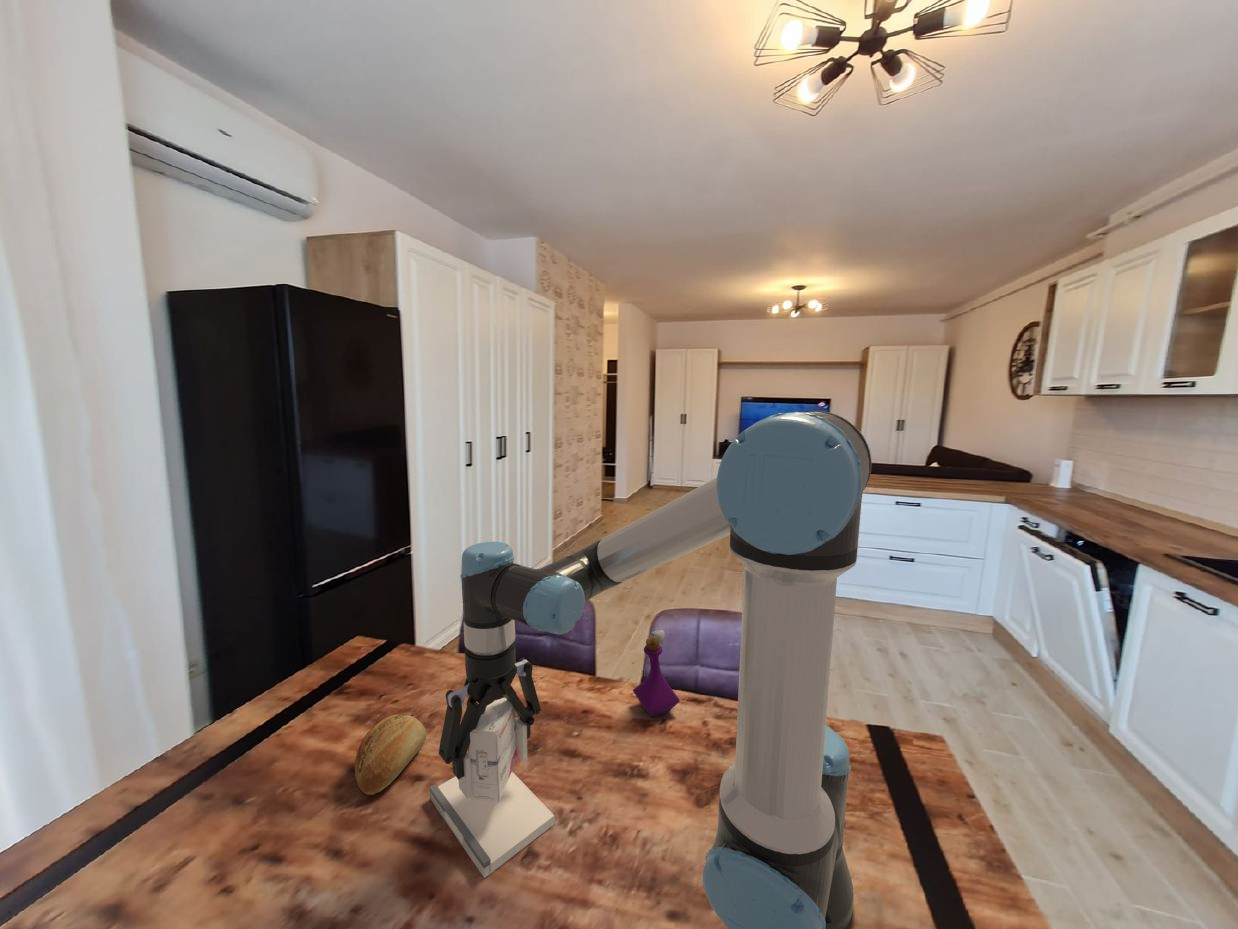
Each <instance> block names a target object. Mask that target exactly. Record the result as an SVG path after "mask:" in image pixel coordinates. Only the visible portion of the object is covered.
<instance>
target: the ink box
mask: <svg viewBox="0 0 1238 929" xmlns="http://www.w3.org/2000/svg"><path fill="white" fill-rule="evenodd" d="M515 718H516V712H515V709H514V707H513V705H512V704H511V703H510V702H509V701H508V700H507V699H506V698H505V697H504V698H502V699H499V700H495V701H494V702H493V703H491V704H490V705H488V706H487V707H486V709H485V712H484V714H482V715H481V717H480V719H479V722H478V724H477V727H476V729H474V730H472V732H470V745H469V748H468V750H467V754H468V755H469V756H470V763H471V787H472V796H471V797H470V799H474V800H481V801H490V802H499V801H500V799H501V797H502V794H503V792H504V789H505V787H506V785H507V782H508V780H509V777H510V775H511V772H513V769H514V767H515V764H516V762H517V756H516V730H515Z"/></svg>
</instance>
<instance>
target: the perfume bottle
mask: <svg viewBox="0 0 1238 929" xmlns="http://www.w3.org/2000/svg"><path fill="white" fill-rule="evenodd" d="M650 635H651V637H647V639H646V640H645V646H644V647H643V654H645V655H647V657H648V658H649V663H650V664H649V665H650V666H649V667H650V669H649V673H648V675H647V677H646V678H645V680H643V681H642V682H641V683H640V684H638V686H635V687H634V688H633V690H632V692H633V693H634V695H635V696H636V698H637V700H638V701H639V703H640V705H641V706H642V707H643V709H644V710H645V711H646V712H647V713H648V715H649V716H650V718H656V717H658V716H662V715H665V714H667V713H670V712H671V711H672V710H673V708H674V707H676V706H677V704H679V703H680V701H681V700H680V698H679V697H678V695H677V694H676V693H675V691H674V690H673V688H671V686H670V684H669V683H668V682H667V680H666V679H665V678H664V674H663V672H662V670H661V666H660V661H659V660H660V659H659V656H660V655H662V653H663V647H662V646H661V645H663V644H664V642H665V638H666V636H665V635H666V633H665V630H663V629H662V630H661V629H660V630H659V629H658V630H654V631H652V632H650Z"/></svg>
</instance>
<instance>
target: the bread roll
mask: <svg viewBox="0 0 1238 929" xmlns="http://www.w3.org/2000/svg"><path fill="white" fill-rule="evenodd" d="M426 739H427V730H426V728H425V725H424V724H423V723H422V722H421V721H420V720H418V719H417V718H416V717H414V716H411V715H409V714H408V715H407V714H406V715H404V714H401V713H400V714H392V715H389V716H387V717H384V719H381V720H380V721H379V722H378V723H376V724H375V725H374V726H373V727H372V728H371V729H370V730H369V731H368V732H367V733H366V734H365V736H364V737H363V739H362V740H361V742H360V744H359V747H358V749H357V751H356V754H355V762H354V776H355V780H356V783H357V786H358V788H359V789H360V791H361V792H362V793H363V794H366V795H369V796H373V795H375V794H377V793H380V792H382V791H383V790H384V789H386V788H387V787H388V786H389V785H391V784H392V783H393V781H394V780H395V779H396V778H397V777H398V776H399V775H400V773H402V771H404V769H405V768H406V767H407V765H408V764H409V763H410V762H411V760H413V758H414V757H415V756H416V755H417V753H419V751H420V750H421V749H422V747H423V746H424V744H425V742H426Z"/></svg>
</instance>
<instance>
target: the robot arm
mask: <svg viewBox="0 0 1238 929" xmlns="http://www.w3.org/2000/svg"><path fill="white" fill-rule="evenodd" d="M870 450H871V449H870V447H869V444H868V442H867V439H866V438H865V436H864V435H863V433H861V431H860V430H859V429H858V428H857V427H856V426H855V425H854V424H852V423H851V422H850V421H849V420H848V419H846V418H844V417H843V416H840V415H838V414H835V413H832V412H828V411H822V410H807V411H800V412H798V411H793V412H786V413H785V412H784V413H782V412H779V413H776V414H773V415H769V416H767V417H764V418H763V419H760V420H758V421H756V422H754V423H753V424H752V425H750V426H749V427H748V428H746V429H745V430H743V431H741V432H740V433H739V434H738V435H737V436H736V437H735V439H734V440H732V442H731V443H730V444H729V446H728V447H727V449H726V450H725V452H724V453H723V455H722V458H721V461H720V463H719V466H718V470H717V476H716V477H714V478H713V479H711V480H709V481H707V482H706V483H704V484H702V485H700V486H698V487H696V488H694V489H692V490H690V491H689V492H687V493H685V494H683V495H682V496H680V497H678V498H675V499H674V500H671V502H668V503H667V504H664V505H662V506H661V507H659V508H656V509H655V510H653V511H651V512H649V513H647V514H646V515H643V516H642V517H641V518H638V519H636V520H635V521H632V522H631V523H629V524H627V525H625V526H623V527H621V528H619V529H618V530H616V531H614V532H611V533H610V534H609V535H606V536H604V537H603V538H602V539H599V540H597V541H595V542H593V543H591V544H589V545H588V546H586V547H584V548H582V549H580V550H577V551H575V552H574V553H571V554H570V555H567V556H565V557H562V558H560V559H557V560H556V561H554V562H551V563H549V564H547V565H544V566H543V567H540V568H532V567H528V566H525V565H521V564H519V563H514V561H515V557H514V551H513V548H512V547H511V546H510V545H509V544H508V543H505V542H502V541H500V542H499V541H485V542H479V543H475V544H472V545H470V546H469V547H466V548H465V549H464V550H463V551H462V554H461V569H460V572H461V573H460V582H461V593H462V594H461V596H462V599H461V600H462V614H463V616H462V617H463V637H464V638H463V640H464V646H465V648H464V665H465V668H464V669H465V676H466V679H465V682H464V684H463V686H462V687H460V688H458V689H457V690H455V691H454V690H452V689H449V690H447V691H446V693H445V701H446V706H447V707H446V711H445V717H444V722H443V725H442V726H443V727H442V731H441V738H440V742H439V743H440V744H439V747H438V755H439V757H441V759H442V761H443V762H444V764H446V765H449V764H451V763H452V764H451V765H452V766H451V768H452V773H453V776H454V777H455V776H456V777H457V779H458V780H459V789H460V790H461V791H462V793H463V794H464V795H465V796H466V798H469V797H471V796H472V787H471V763H470V756H469V755H468V748H469V745H470V732H472V730H474V729H476V727H477V724H478V722H479V719H480V717H481V715H482V714H484V712H485V709H486V707H487V706H488V705H490V704H491V703H493V702H494V701H495V700H499V699H502V698H506V699H507V700H508V701H509V702H510V703H511V704H512V705H513V707H514V709H515V714H516V715H517V716H518V717H515V730H516V758H518V759H519V761H520V762H522V763H523V764H525V763H526V762H528V739H530V737H531V734H532V733H531V726H532V725H534V723H535V718H534V717H533V716H535V715H539V714H540V713H541V711H542V708H541V704H540V701H539V698H538V693H537V689H536V687H535V686H536V685H535V682H534V680H533V679H534V678H533V667H534V666H533V664H532V663H531V662H529V661H528V660H527V659H525V658H524V657H521V658H519V659H518V661H517V662H516V660H517V658H516V657H517V656H516V642H515V639H516V625H515V622H517V623H520V624H522V625H526V626H527V627H529V628H532V629H533V630H535V631H539V632H545V633H546V632H547V633H550V634H555V635H565V634H567V633H569V632H570V631H571V630H573V629H574V628H575V626H576V622H577V621H579V620H580V619H581V617H582V615H583V611H584V608H585V603H586V602H588V601H589V600H590V599H592V598H594V597H596V596H598V595H600V594H602V593H603V592H605V591H608V590H609V589H612V588H614V587H616V586H618V585H620V584H623V583H624V582H626V581H628V580H631V579H633V578H635V577H638V576H639V575H642V574H645V573H647V572H649V571H652V570H653V569H655V568H658V567H660V566H662V565H665V564H667V563H669V562H672V561H674V560H676V559H678V558H680V557H683V556H685V555H687V554H689V553H692V552H694V551H696V550H699V549H701V548H703V547H705V546H708V545H710V544H712V543H714V542H717V541H719V540H722V539H724V538H725V537H729V550H730V552H731V554H733V555H734V556H735V558H736V559H737V560H738V561H740V563H741V564H742V565H743V588H742V606H741V607H742V608H741V628H740V652H739V674H738V677H739V678H738V691H737V692H738V694H737V695H738V696H737V718H736V735H735V736H736V739H735V740H736V741H735V760H734V761H735V762H734V763H733V764H732V765H730V767H728V768H727V769H726V770H725V772H724V773H723V775H722V777H721V780H720V785H719V795H718V796H719V798H718V818H717V819H718V821H717V823H718V824H717V830H716V835H715V839H714V842H713V844H712V847H711V848H710V849H708V851H707V853H706V855H705V863H704V865H703V869H702V884H703V888H704V889H703V890H704V893H705V895H706V897H707V898H706V899H707V900H708V903H709V904H710V906H711V908H712V910H713V911H714V912H715V914H716V915H717V917H718V918H719V919H720V920H721V921H722V923H723V924H724V926H725V927H726V928H727V929H848V927H849V925H850V922H851V920H852V916H853V910H854V909H853V908H854V899H855V898H854V893H855V892H854V885H853V881H852V877H851V873H850V870H849V866H848V863H847V859H846V855H845V852H844V849H843V843H844V832H845V830H844V829H845V821H846V807H847V794H848V785H849V784H848V783H849V775H850V772H851V770H852V766H851V765H850V750H849V748H848V745H847V743H846V741H845V740H844V739H843V738H842V736H840V734H838V733H837V732H836V731H835V730H834V729H833V728H832V727H830V726H829V725H827V716H828V714H827V711H828V700H829V690H830V689H829V686H830V675H831V673H830V672H831V662H832V661H831V660H832V652H833V650H832V649H833V648H832V647H833V637H834V636H833V635H834V634H833V633H834V625H835V624H834V622H835V607H836V597H837V596H836V594H837V583H838V578H839V577H841V575H843V574H845V573H846V572H848V571H849V570H850V569H853V567H855V566H856V564H857V560H858V547H859V535H860V525H861V524H860V523H861V514H862V512H861V511H862V503H863V502H862V500H863V492H864V491H865V489H866V487H867V485H868V483H869V481H870V478H871V477H870V476H871V473H872V463H873V461H872V454H871V451H870ZM516 675H517V676H518V680H519V684H520V687H521V692H522V695H523V699H524V701H525V704H524V703H523V701H521V699H520V698H519V696H518V694H517V691H515V689H514V688H513V686H512V683H513V681H514V680H515V677H516ZM467 696H468V697H467ZM466 697H467V700H466ZM465 700H466V703H465ZM465 704H466V709H465V712H464V713H463V707H464V706H465ZM525 705H526V706H525Z"/></svg>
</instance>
